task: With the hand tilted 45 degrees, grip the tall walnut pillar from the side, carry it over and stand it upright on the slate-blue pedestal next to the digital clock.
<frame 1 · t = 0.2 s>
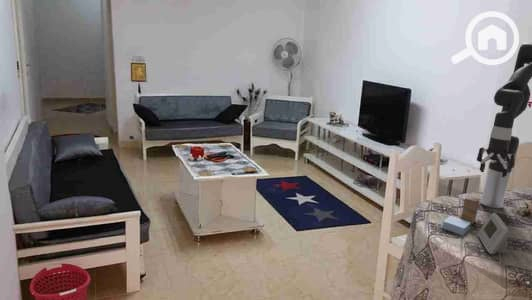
hand: (492, 174, 184), 18 cm above the table, tool pointing down, fingers open, 8 cm apart
digital clock: (489, 246, 159), on the table
walnut pillar: (467, 221, 180), on the table
pedestal: (455, 228, 171), on the table
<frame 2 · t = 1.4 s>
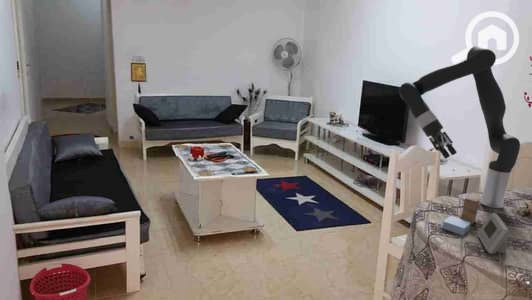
hand: (451, 155, 180), 26 cm above the table, tool tilted 45°, fingers open, 8 cm apart
nothing on the table moved.
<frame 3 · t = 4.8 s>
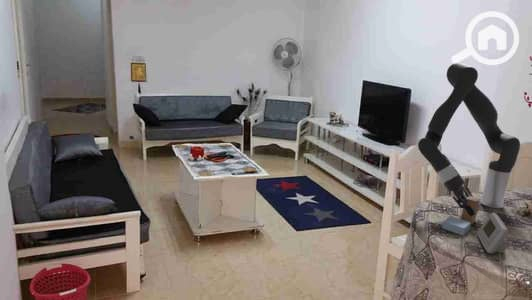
hand: (474, 213, 177), 4 cm above the table, tool tilted 45°, fingers closed on walnut pillar, 4 cm apart
walnut pillar: (467, 221, 180), on the table, touching gripper
everything else where it was.
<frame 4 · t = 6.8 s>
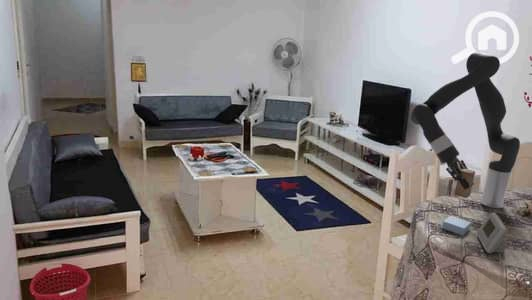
hand: (469, 186, 165), 18 cm above the table, tool tilted 45°, fingers closed on walnut pillar, 4 cm apart
walnut pillar: (462, 195, 168), point 14 cm above the table, touching gripper
everything else where it was.
when the fingers open (8 cm above the table, at t = 9.1 s): walnut pillar stays where it is, resting on pedestal.
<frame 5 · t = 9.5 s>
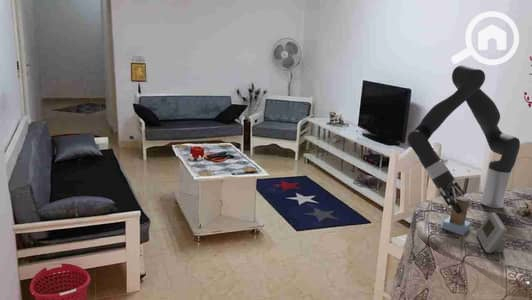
hand: (463, 210, 168), 9 cm above the table, tool tilted 45°, fingers open, 8 cm apart
walnut pillar: (457, 221, 171), point 3 cm above the table, touching pedestal
everything else where it was.
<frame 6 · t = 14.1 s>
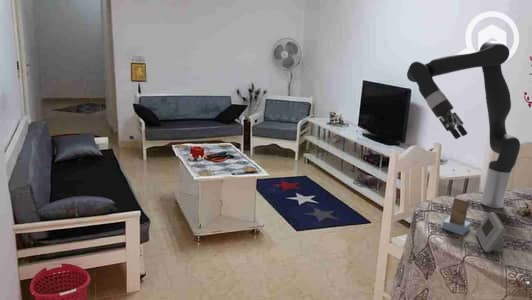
hand: (462, 136, 175), 35 cm above the table, tool tilted 45°, fingers open, 8 cm apart
at the end: walnut pillar 0.1 cm off-centre on the pedestal, point 3.0 cm above the pedestal's base; walnut pillar tilted 0°; the gripper is holding nothing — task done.
